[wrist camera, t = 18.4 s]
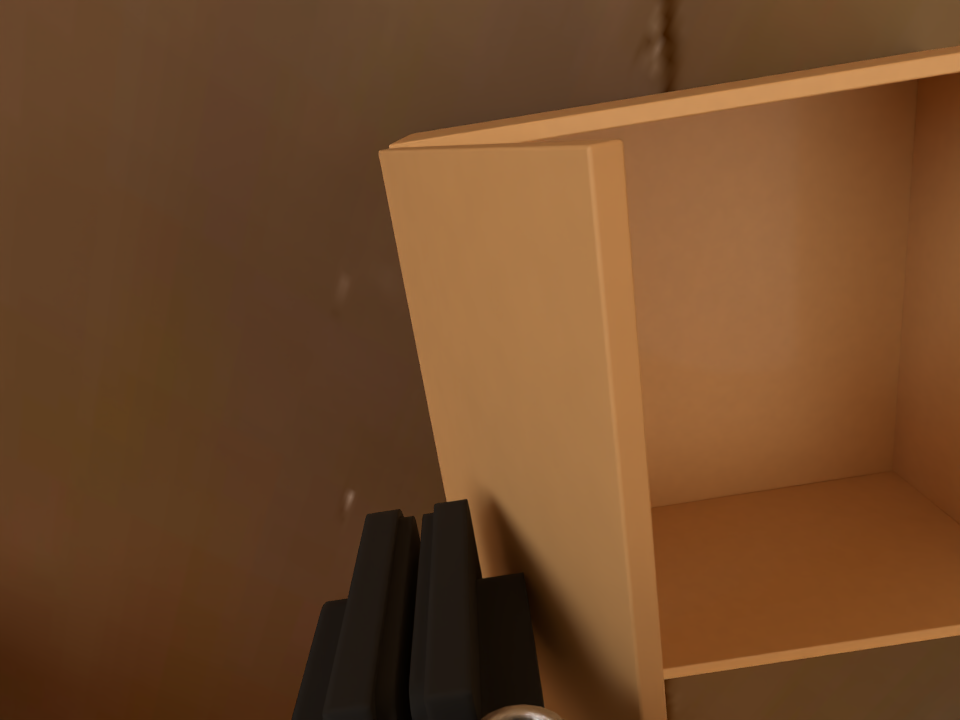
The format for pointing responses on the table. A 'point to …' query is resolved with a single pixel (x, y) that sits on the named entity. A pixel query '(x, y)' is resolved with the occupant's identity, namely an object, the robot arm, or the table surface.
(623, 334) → the flap
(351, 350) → the table surface
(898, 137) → the carton
